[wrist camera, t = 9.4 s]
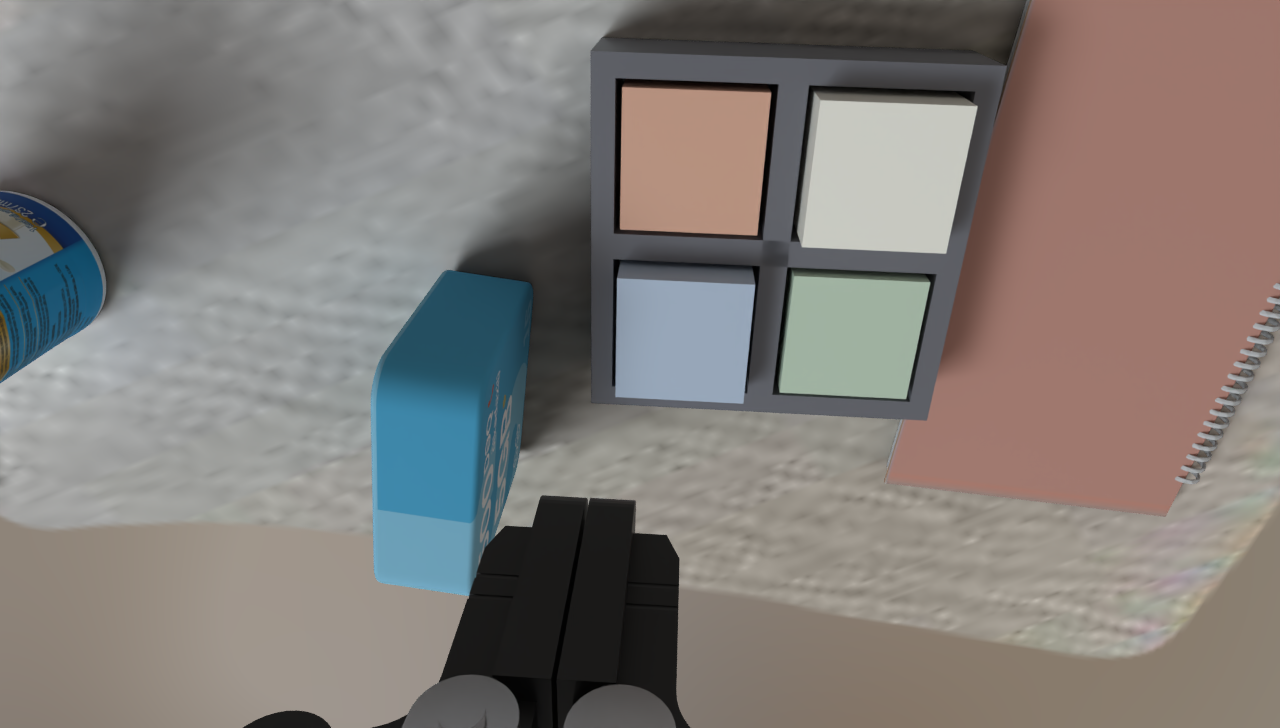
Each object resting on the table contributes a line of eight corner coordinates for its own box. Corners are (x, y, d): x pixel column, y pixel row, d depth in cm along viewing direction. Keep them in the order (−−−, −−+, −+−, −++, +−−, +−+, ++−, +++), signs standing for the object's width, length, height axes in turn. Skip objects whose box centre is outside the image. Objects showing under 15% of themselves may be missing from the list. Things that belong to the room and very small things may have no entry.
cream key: (793, 220, 38) (801, 247, 35) (809, 84, 35) (820, 100, 32) (925, 226, 37) (945, 253, 34) (952, 90, 35) (977, 106, 32)
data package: (519, 461, 48) (470, 612, 38) (443, 450, 48) (372, 598, 37) (536, 272, 42) (483, 387, 32) (449, 259, 42) (368, 370, 32)
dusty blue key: (621, 362, 42) (615, 396, 39) (623, 250, 39) (617, 278, 36) (739, 368, 41) (743, 403, 38) (750, 256, 39) (755, 284, 36)
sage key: (773, 358, 42) (779, 392, 39) (786, 248, 40) (794, 276, 37) (890, 364, 42) (905, 399, 39) (911, 254, 39) (930, 282, 36)
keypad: (600, 360, 45) (591, 403, 41) (601, 37, 37) (590, 51, 33) (906, 375, 44) (927, 420, 40) (972, 50, 36) (1007, 65, 32)
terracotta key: (625, 205, 39) (619, 229, 36) (628, 73, 36) (622, 87, 33) (752, 211, 39) (757, 235, 36) (764, 78, 36) (771, 92, 33)
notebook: (1168, 499, 47) (1186, 522, 46) (878, 465, 47) (885, 486, 46) (1434, -16, 34) (1474, -13, 33) (1035, -63, 34) (1053, -63, 33)
